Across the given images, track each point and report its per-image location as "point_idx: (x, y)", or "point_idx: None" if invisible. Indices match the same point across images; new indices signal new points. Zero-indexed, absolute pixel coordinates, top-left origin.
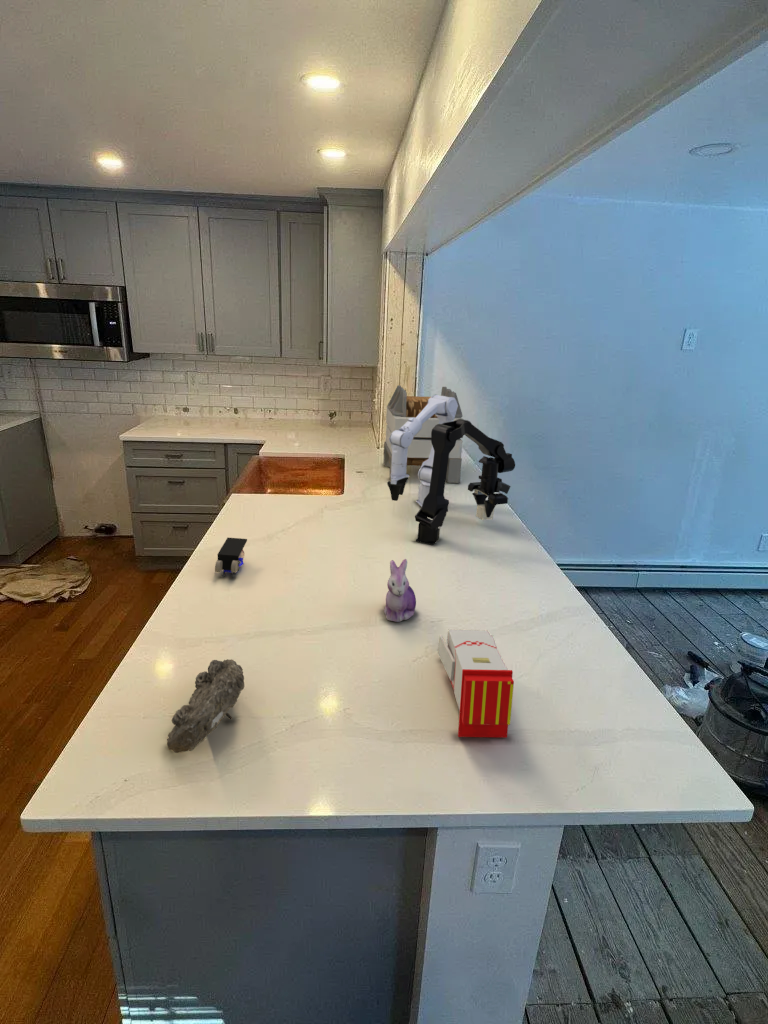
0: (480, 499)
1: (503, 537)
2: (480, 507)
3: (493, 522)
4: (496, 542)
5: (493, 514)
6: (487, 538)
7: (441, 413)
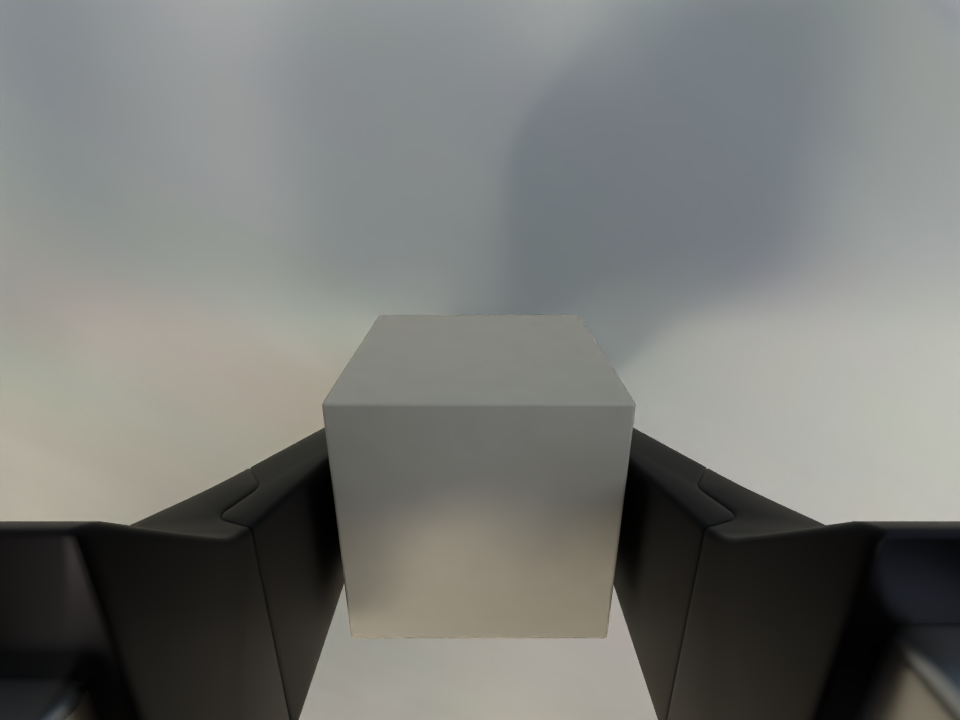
0: (273, 680)
1: (891, 327)
2: (486, 626)
3: (401, 157)
4: (945, 470)
5: (596, 343)
6: (814, 499)
7: None
